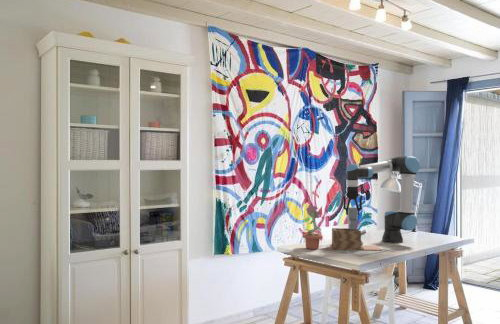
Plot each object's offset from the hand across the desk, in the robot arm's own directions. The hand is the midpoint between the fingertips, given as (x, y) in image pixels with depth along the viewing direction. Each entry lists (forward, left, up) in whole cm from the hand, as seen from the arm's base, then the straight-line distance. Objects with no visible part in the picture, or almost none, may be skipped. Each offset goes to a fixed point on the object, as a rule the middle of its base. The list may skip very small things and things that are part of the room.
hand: (352, 219), depth 302 cm
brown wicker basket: (+4, 0, -20) cm, 20 cm away
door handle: (-4, -19, -21) cm, 28 cm away
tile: (-13, 0, -20) cm, 24 cm away
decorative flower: (+27, +3, -20) cm, 34 cm away
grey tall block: (0, 0, -12) cm, 12 cm away
